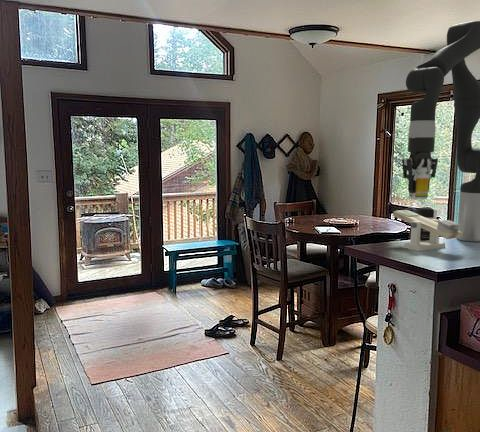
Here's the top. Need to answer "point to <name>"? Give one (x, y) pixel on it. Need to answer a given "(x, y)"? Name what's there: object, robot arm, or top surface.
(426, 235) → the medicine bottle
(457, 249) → the top surface
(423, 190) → the supplement bottle
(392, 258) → the top surface
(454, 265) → the top surface
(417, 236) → the stand
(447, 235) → the beam
